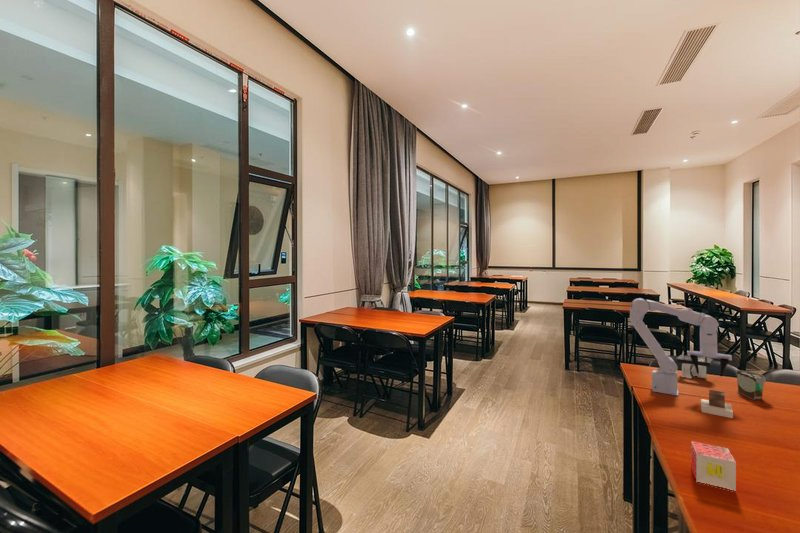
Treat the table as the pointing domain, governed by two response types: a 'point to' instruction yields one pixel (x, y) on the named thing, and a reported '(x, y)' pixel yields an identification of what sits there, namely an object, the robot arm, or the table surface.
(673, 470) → the table surface
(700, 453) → the pink and white box
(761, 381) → the food container
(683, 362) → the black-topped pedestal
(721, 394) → the grayish beige block
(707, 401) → the base block
